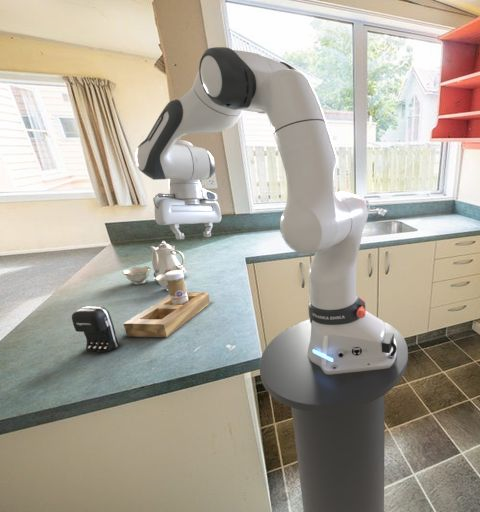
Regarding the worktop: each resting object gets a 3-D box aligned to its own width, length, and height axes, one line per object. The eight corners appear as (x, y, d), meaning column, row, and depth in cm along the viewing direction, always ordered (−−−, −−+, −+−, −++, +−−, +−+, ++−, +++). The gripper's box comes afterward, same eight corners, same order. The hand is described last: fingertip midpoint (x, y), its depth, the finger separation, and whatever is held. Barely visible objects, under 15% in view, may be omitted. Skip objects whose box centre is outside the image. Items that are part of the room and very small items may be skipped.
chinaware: (117, 290, 113) (99, 250, 106) (157, 271, 128) (144, 234, 121) (176, 298, 107) (162, 256, 100) (211, 277, 121) (200, 239, 115)
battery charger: (80, 353, 73) (65, 312, 70) (95, 344, 77) (82, 305, 74) (107, 354, 73) (93, 313, 70) (121, 345, 77) (108, 306, 73)
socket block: (210, 303, 99) (207, 292, 98) (166, 337, 80) (163, 324, 79) (177, 303, 100) (175, 292, 98) (127, 336, 81) (123, 323, 80)
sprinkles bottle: (178, 316, 91) (168, 275, 87) (171, 312, 94) (161, 272, 89) (193, 310, 95) (185, 271, 91) (186, 306, 97) (178, 268, 93)
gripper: (159, 191, 83) (168, 240, 85) (221, 195, 102) (227, 234, 104) (145, 194, 85) (154, 241, 87) (207, 197, 104) (214, 236, 106)
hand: (194, 237), depth 96 cm, fingers open, 8 cm apart
